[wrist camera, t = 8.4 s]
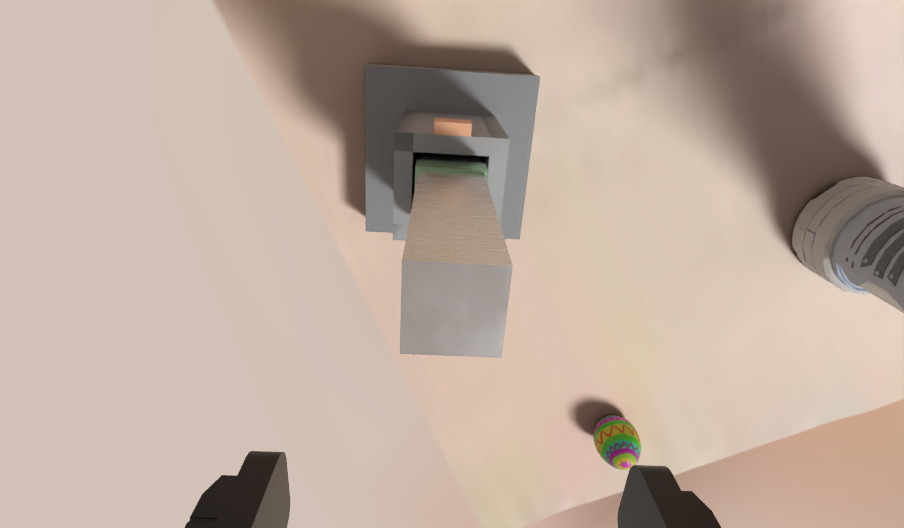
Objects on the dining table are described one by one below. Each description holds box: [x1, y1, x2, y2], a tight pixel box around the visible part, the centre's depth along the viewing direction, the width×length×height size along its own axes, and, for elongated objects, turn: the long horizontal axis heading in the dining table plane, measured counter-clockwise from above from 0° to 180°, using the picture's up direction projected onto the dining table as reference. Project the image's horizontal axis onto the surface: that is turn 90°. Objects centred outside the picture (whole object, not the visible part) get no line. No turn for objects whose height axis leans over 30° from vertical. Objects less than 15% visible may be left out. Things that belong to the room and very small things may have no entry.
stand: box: [364, 63, 540, 240], centre depth 40 cm, size 14×14×13 cm
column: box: [400, 152, 512, 358], centre depth 28 cm, size 4×4×20 cm
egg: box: [594, 415, 641, 470], centre depth 57 cm, size 5×5×6 cm
